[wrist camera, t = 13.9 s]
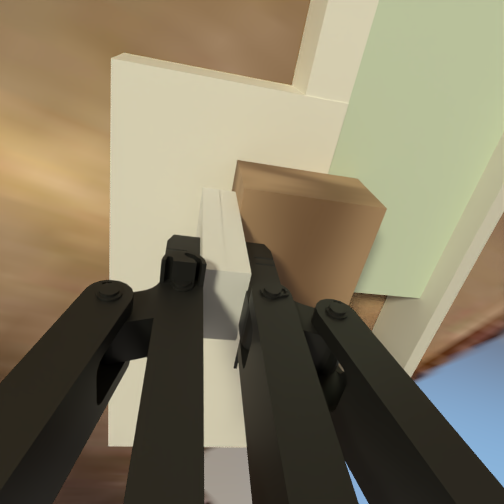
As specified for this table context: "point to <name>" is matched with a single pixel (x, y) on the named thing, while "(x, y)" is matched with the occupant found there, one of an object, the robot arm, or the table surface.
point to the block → (309, 227)
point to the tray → (322, 163)
